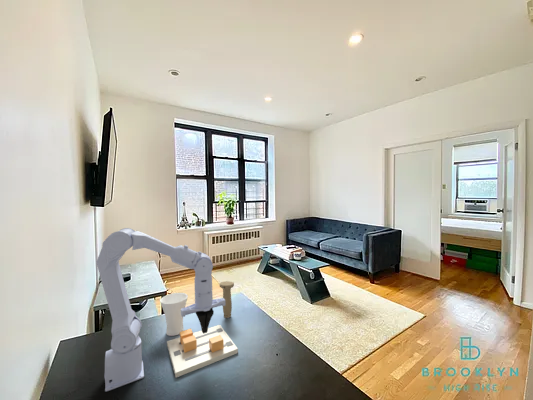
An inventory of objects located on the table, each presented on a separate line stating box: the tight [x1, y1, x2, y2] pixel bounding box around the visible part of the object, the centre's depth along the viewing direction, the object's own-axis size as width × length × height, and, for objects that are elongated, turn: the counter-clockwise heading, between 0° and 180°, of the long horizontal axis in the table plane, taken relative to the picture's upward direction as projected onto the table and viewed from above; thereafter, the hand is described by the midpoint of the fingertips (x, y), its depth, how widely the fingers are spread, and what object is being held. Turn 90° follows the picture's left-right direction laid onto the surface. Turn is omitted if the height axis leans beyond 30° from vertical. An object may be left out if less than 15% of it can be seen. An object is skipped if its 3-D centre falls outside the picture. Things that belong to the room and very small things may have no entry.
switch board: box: [166, 324, 239, 379], centre depth 80 cm, size 20×18×2 cm
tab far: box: [179, 328, 194, 345], centre depth 83 cm, size 4×3×3 cm
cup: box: [159, 292, 189, 337], centre depth 92 cm, size 10×10×14 cm
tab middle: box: [182, 335, 197, 353], centre depth 78 cm, size 4×3×3 cm
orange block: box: [209, 335, 224, 352], centre depth 78 cm, size 4×3×3 cm
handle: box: [219, 280, 235, 319], centre depth 102 cm, size 5×6×15 cm
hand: (204, 331), depth 76 cm, fingers closed
